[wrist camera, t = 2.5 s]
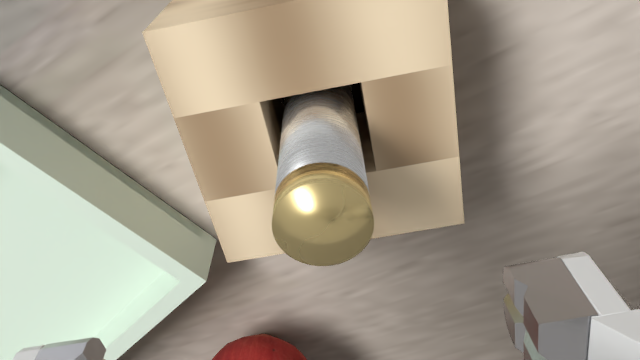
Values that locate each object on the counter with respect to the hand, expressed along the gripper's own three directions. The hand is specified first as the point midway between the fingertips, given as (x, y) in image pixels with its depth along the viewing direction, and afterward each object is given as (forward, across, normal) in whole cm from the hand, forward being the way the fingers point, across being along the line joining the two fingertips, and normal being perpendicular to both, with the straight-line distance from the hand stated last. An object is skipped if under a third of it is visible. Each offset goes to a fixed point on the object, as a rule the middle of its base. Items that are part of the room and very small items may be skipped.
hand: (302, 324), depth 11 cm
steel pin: (+13, -1, 0) cm, 13 cm away
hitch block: (+13, -1, 0) cm, 13 cm away
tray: (+14, +17, +7) cm, 23 cm away
